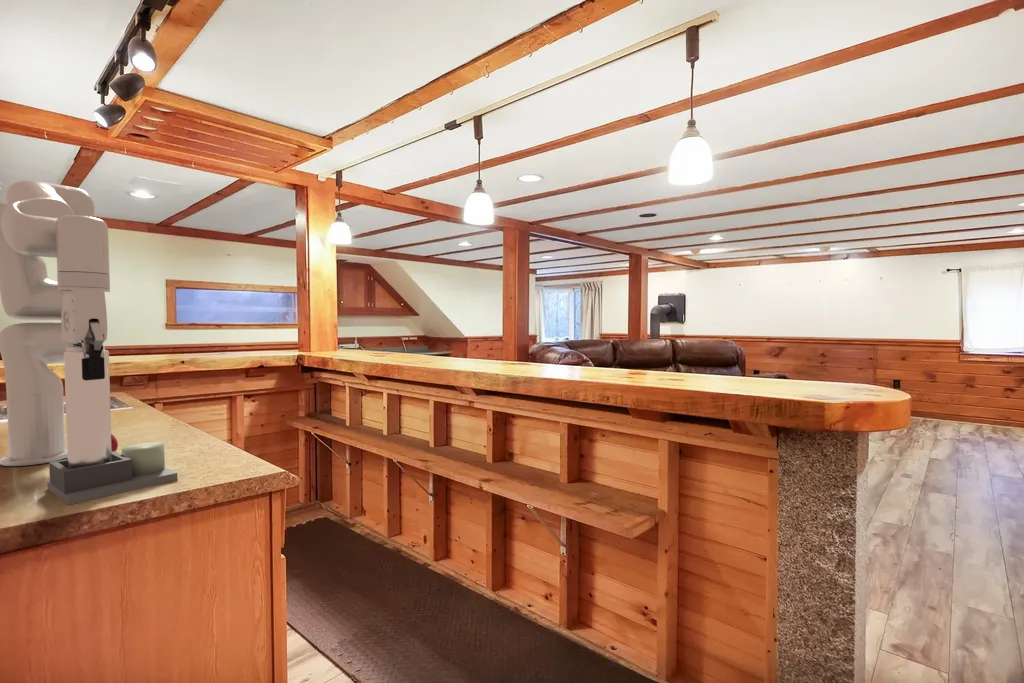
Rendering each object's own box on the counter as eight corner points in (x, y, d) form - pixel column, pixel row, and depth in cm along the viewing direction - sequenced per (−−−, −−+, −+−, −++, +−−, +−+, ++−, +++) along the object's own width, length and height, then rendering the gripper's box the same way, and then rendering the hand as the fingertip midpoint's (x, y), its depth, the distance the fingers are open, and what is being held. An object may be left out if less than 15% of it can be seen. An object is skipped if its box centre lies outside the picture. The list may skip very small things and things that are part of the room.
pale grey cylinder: (92, 481, 93) (88, 346, 92) (58, 481, 93) (54, 346, 92) (120, 471, 100) (117, 344, 98) (88, 470, 100) (84, 344, 99)
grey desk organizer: (47, 488, 97) (46, 455, 96) (151, 467, 110) (150, 438, 110) (68, 504, 88) (66, 468, 88) (177, 480, 102) (176, 448, 102)
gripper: (45, 283, 97) (49, 376, 98) (71, 280, 87) (75, 383, 87) (95, 286, 103) (97, 373, 104) (124, 282, 93) (127, 379, 93)
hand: (87, 377), depth 96 cm, fingers open, 6 cm apart
